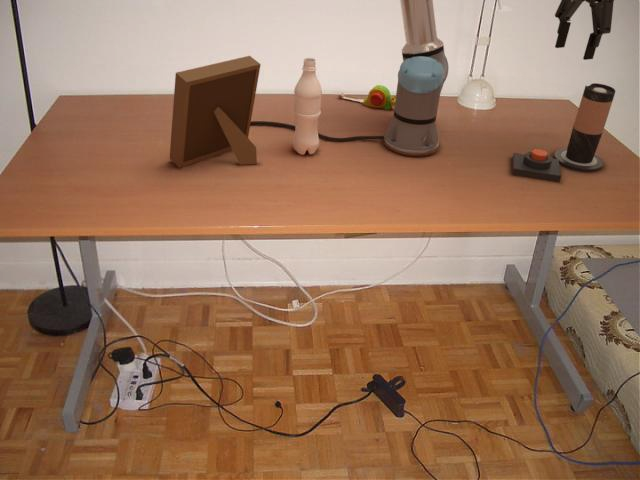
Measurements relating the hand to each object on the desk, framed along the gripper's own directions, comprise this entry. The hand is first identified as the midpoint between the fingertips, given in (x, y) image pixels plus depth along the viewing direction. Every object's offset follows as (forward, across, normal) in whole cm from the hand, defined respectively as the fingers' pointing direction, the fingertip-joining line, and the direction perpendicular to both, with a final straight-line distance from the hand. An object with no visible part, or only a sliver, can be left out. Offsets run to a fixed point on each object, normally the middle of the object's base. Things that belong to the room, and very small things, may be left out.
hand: (573, 52), depth 169 cm
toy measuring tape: (+28, +46, +33) cm, 63 cm away
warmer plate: (+28, -10, -2) cm, 29 cm away
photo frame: (+28, +24, +89) cm, 97 cm away
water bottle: (+28, +22, +66) cm, 75 cm away
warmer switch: (+28, -10, +13) cm, 32 cm away
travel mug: (+27, -10, -2) cm, 29 cm away
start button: (+24, -10, +13) cm, 29 cm away
